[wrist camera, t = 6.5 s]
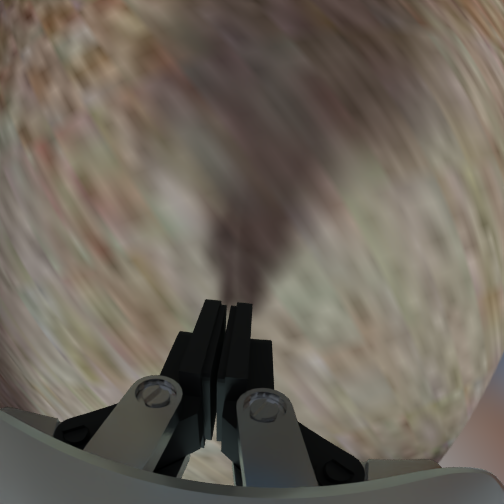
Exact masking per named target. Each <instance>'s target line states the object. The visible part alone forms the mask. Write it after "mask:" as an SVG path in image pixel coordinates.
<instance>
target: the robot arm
mask: <svg viewBox="0 0 504 504" xmlns="http://www.w3.org/2000/svg"><path fill="white" fill-rule="evenodd" d="M226 311H227V305H221V301H218V300H208V299H206V300H205V302H204V305H203V307H202V310H201V313H200V315H199V318H198V320H197V323H196V326H195V328H194V331H193V333H190V332H183V331H180V332H179V334H178V335H177V338H176V340H175V342H174V344H173V347H172V349H171V351H170V353H169V355H168V358H167V360H166V362H165V364H164V367H163V369H162V371H161V374H160V375H151V376H147V377H143V378H141V379H139V380H137V381H136V382H135V383H134V384H133V385H132V386H131V387H130V389H129V390H128V391H127V392H126V394H125V395H124V396H123V398H122V399H121V400H120V402H119V403H117V404H114V405H112V406H108V407H105V408H102V409H99V410H96V411H93V412H90V413H86V414H83V415H80V416H76V417H73V418H70V419H67V420H65V421H63V422H60V421H59V420H58V418H54V417H49V416H44V415H40V414H36V413H32V412H28V411H24V410H20V409H17V408H13V407H5V408H1V409H0V504H504V485H503V484H502V483H501V481H500V480H499V479H498V478H497V477H496V476H495V475H493V474H492V473H490V472H488V471H486V470H482V469H478V468H466V467H464V468H463V467H452V468H442V467H441V466H440V465H439V464H438V463H437V462H434V461H432V460H428V459H413V460H380V459H368V461H367V462H360V461H359V460H358V459H356V458H355V457H354V456H352V455H350V454H349V453H347V452H345V451H344V450H342V449H340V448H339V447H337V446H335V445H334V444H332V443H330V442H329V441H327V440H326V439H324V438H322V437H321V436H319V435H318V434H316V433H314V432H313V431H311V430H310V429H308V428H307V427H305V426H304V425H302V424H301V423H299V422H298V421H297V418H296V415H295V412H294V409H293V406H292V403H291V402H290V400H289V398H287V397H286V396H285V395H284V394H283V393H281V392H279V391H277V390H274V376H273V355H272V341H271V340H259V339H250V337H251V321H252V304H250V303H239V302H237V306H231V309H230V314H229V319H228V324H227V328H226ZM216 412H217V441H222V443H221V451H222V452H223V453H224V454H225V455H226V456H227V457H228V458H229V459H230V460H231V461H232V470H233V480H234V486H230V485H220V484H212V483H205V482H198V481H192V480H186V479H181V478H182V476H183V473H184V471H185V469H186V467H187V464H188V462H189V459H190V454H191V453H193V452H195V451H196V450H198V449H200V447H201V448H204V445H205V440H206V439H207V440H212V436H213V430H214V424H215V418H216Z"/></svg>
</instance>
